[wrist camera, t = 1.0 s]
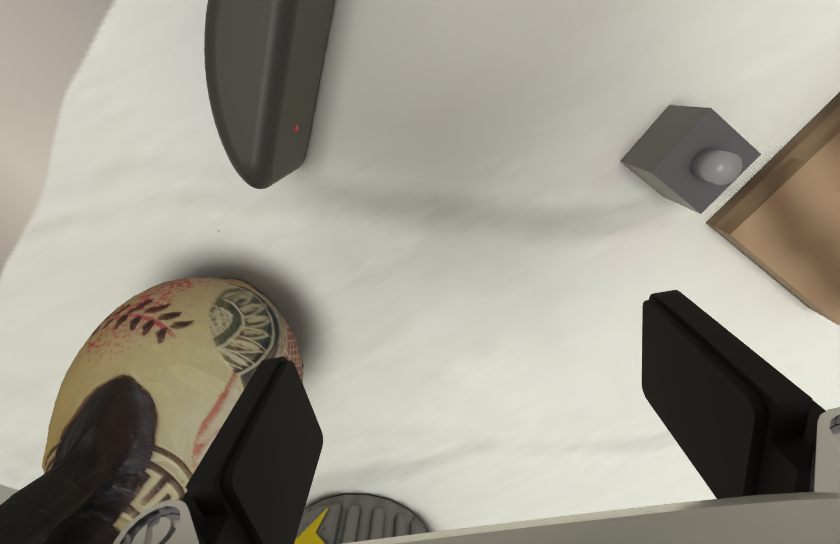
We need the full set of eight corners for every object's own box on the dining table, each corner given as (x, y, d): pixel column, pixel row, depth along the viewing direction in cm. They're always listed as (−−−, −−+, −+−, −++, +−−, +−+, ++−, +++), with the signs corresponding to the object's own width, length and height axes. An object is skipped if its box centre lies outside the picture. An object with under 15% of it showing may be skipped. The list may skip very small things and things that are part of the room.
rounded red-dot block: (282, -99, 26) (212, -188, 18) (352, -73, 27) (317, -148, 18) (249, 152, 33) (186, 175, 24) (306, 169, 33) (264, 198, 25)
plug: (669, 105, 31) (732, 109, 25) (713, 144, 32) (784, 158, 26) (620, 161, 33) (667, 179, 26) (663, 196, 34) (719, 222, 27)
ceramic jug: (318, 398, 43) (126, 950, 15) (166, 378, 42) (-321, 921, 15) (330, 246, 36) (22, 755, 9) (148, 218, 35) (-832, 680, 8)
